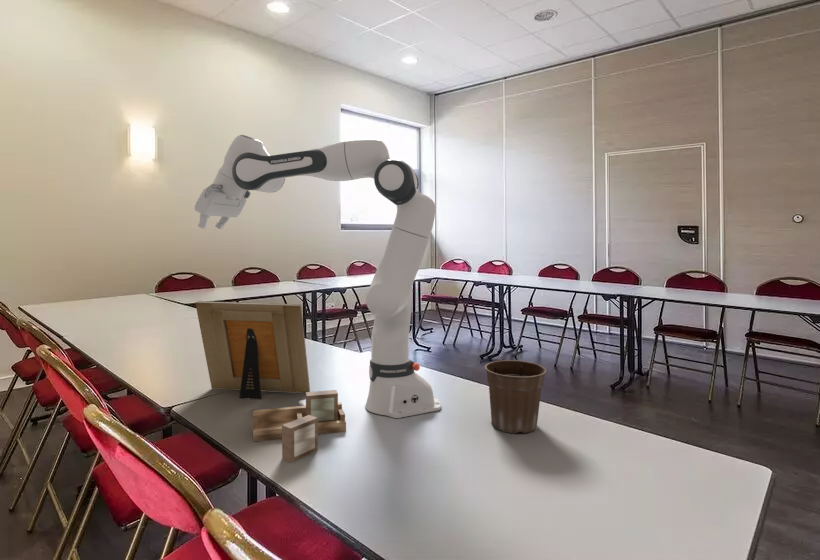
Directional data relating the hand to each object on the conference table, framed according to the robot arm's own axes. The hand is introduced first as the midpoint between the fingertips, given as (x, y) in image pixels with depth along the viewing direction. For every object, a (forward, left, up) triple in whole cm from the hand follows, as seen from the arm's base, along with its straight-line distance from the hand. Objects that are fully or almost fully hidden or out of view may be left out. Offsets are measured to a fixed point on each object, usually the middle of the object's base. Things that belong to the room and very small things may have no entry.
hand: (210, 227), depth 146 cm
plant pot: (-79, +46, -53) cm, 105 cm away
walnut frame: (-22, +48, -52) cm, 74 cm away
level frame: (-29, +34, -51) cm, 67 cm away
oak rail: (-23, +34, -52) cm, 66 cm away
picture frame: (-12, +3, -53) cm, 54 cm away
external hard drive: (-30, +19, -53) cm, 64 cm away
